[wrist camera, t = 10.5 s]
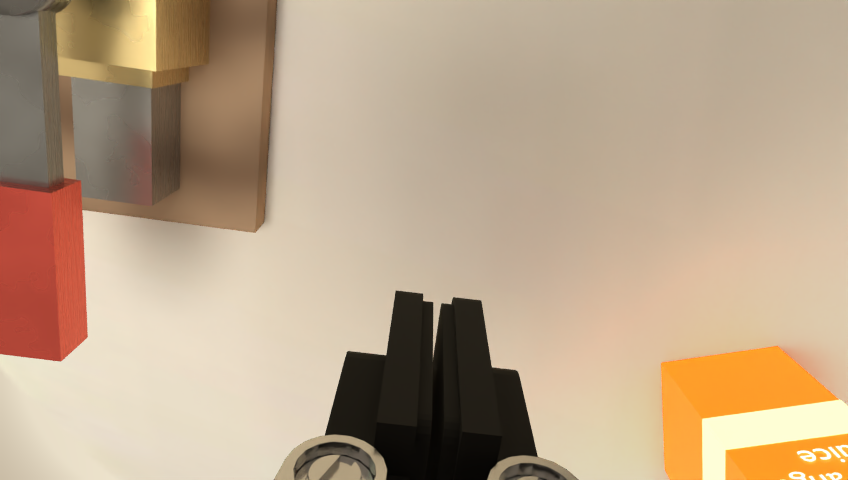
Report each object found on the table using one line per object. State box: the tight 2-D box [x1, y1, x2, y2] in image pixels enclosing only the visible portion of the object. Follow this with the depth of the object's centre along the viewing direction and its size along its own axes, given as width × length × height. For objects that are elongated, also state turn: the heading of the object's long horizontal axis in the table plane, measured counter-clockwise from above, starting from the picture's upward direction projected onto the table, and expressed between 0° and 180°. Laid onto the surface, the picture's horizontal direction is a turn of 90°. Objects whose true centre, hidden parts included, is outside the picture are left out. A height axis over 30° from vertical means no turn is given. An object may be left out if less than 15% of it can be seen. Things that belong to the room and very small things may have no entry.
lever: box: [0, 0, 88, 361], centre depth 21 cm, size 3×16×3 cm, turn 172°
